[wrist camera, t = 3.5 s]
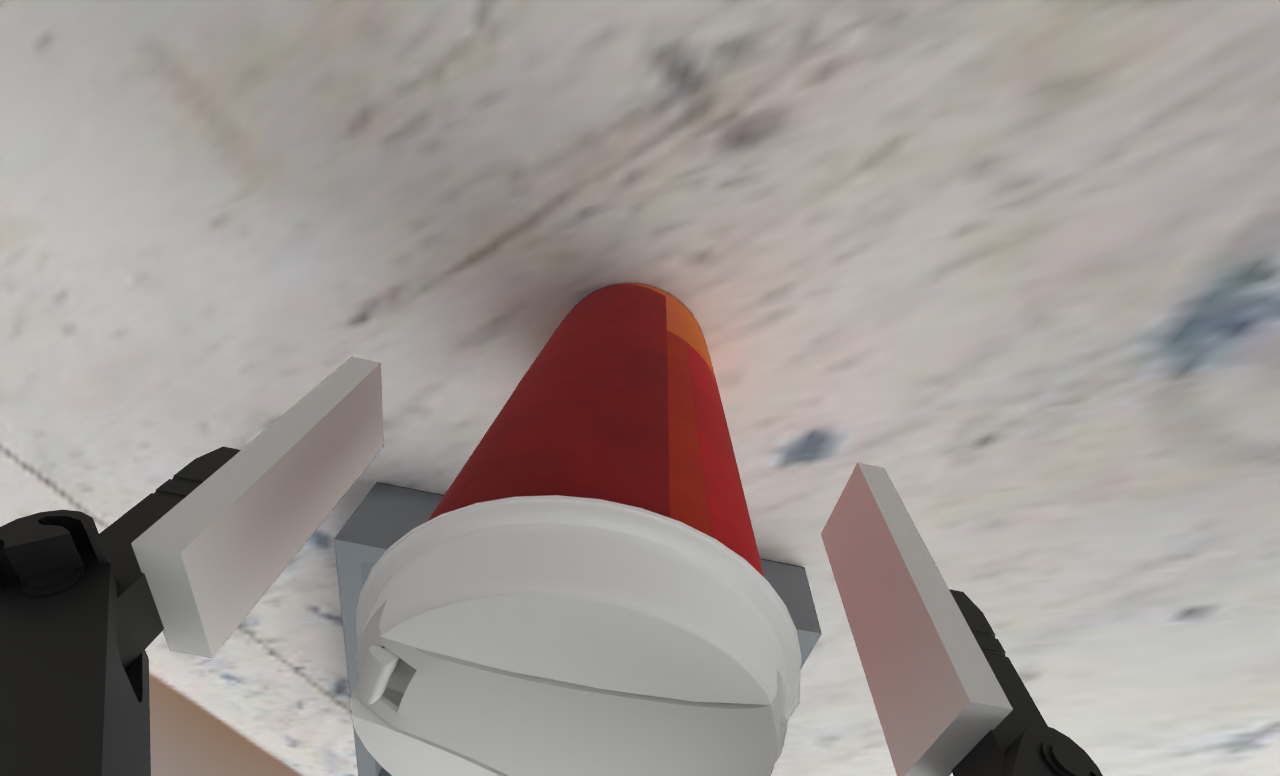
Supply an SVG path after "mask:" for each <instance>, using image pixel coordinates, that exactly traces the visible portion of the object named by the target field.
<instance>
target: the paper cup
mask: <svg viewBox="0 0 1280 776" xmlns="http://www.w3.org/2000/svg"><path fill="white" fill-rule="evenodd" d="M356 634H357V647H358V652H357V656H356V659H357V674H358V678H357V681H356V684H355V686H354V690H353V693H352V695H351V698H350V703H349V708H350V711H351V714H350V717H351V720H352V723H353V726H354V728H355V731H356V733H357V735H358V736H359V738H360V740H361V741H362V743H363V744H364V746H365V748H366V749H367V751H368V752H369V753H370V754H371V755H372V756H373V757H374V759H375V760H376V761H377V762H378V763H379V764H380V765H381V766H382V767H383V768H384V769H385V770H386V771H387V772H388V773H390V774H391V775H392V776H770V775H771V773H772V771H773V768H774V764H775V763H776V761H777V760H778V758H779V756H780V754H781V751H782V748H783V745H784V740H785V735H786V730H787V721H788V720H789V718H790V716H791V715H792V713H793V712H794V710H795V709H796V707H797V706H798V704H799V702H800V670H801V651H800V646H799V640H798V635H797V630H796V627H795V625H794V623H793V621H792V618H791V616H790V614H789V612H788V609H787V607H786V605H785V604H784V602H783V601H782V600H781V598H780V597H779V596H778V594H777V593H776V591H775V590H774V589H773V587H772V586H771V584H770V583H769V582H768V581H767V580H766V579H765V578H764V574H763V570H762V566H761V562H760V558H759V554H758V550H757V546H756V542H755V537H754V533H753V529H752V525H751V521H750V517H749V513H748V509H747V505H746V500H745V496H744V492H743V488H742V484H741V480H740V476H739V472H738V467H737V463H736V459H735V455H734V451H733V447H732V443H731V439H730V435H729V430H728V426H727V422H726V418H725V414H724V410H723V406H722V402H721V398H720V394H719V390H718V386H717V382H716V379H715V375H714V371H713V367H712V363H711V359H710V355H709V352H708V349H707V345H706V342H705V339H704V336H703V334H702V331H701V329H700V326H699V324H698V322H697V321H696V319H695V318H694V316H693V315H692V313H691V312H690V311H689V310H688V308H687V307H686V306H685V305H684V304H683V303H681V302H680V301H679V300H678V299H677V298H675V297H674V296H672V295H671V294H669V293H667V292H665V291H663V290H661V289H658V288H656V287H652V286H649V285H644V284H637V283H622V284H615V285H610V286H607V287H604V288H601V289H599V290H597V291H595V292H593V293H591V294H589V295H588V296H586V297H585V298H584V299H582V300H581V301H580V302H579V303H578V304H577V305H576V306H575V307H574V308H573V309H572V310H571V311H570V312H569V313H568V315H567V316H566V317H565V319H564V320H563V321H562V323H561V324H560V325H559V327H558V328H557V329H556V331H555V332H554V334H553V335H552V337H551V338H550V339H549V341H548V342H547V344H546V345H545V347H544V348H543V350H542V351H541V352H540V354H539V355H538V357H537V358H536V360H535V361H534V363H533V364H532V366H531V367H530V368H529V370H528V371H527V373H526V374H525V375H524V377H523V378H522V380H521V381H520V383H519V384H518V386H517V387H516V389H515V391H514V392H513V394H512V395H511V397H510V398H509V400H508V401H507V403H506V404H505V406H504V407H503V409H502V410H501V412H500V413H499V415H498V416H497V418H496V419H495V421H494V422H493V424H492V425H491V427H490V428H489V430H488V431H487V433H486V434H485V436H484V437H483V439H482V440H481V442H480V443H479V445H478V446H477V448H476V449H475V451H474V452H473V454H472V455H471V457H470V458H469V460H468V461H467V463H466V464H465V466H464V467H463V469H462V470H461V472H460V473H459V475H458V476H457V478H456V479H455V480H454V482H453V483H452V485H451V486H450V488H449V489H448V491H447V492H446V494H445V495H444V497H443V498H442V500H441V501H440V503H439V504H438V506H437V507H436V509H435V510H434V512H433V513H432V515H431V516H430V518H429V519H428V521H427V522H426V523H424V524H422V525H420V526H418V527H416V528H414V529H412V530H411V531H410V532H408V533H407V534H406V535H404V536H403V537H402V538H401V539H399V540H398V541H397V542H395V543H394V544H393V545H391V546H390V547H389V548H388V550H387V551H386V552H385V553H384V554H383V555H382V557H381V558H380V559H379V560H378V561H377V563H376V564H375V565H374V566H373V568H372V569H371V571H370V573H369V575H368V577H367V579H366V581H365V583H364V585H363V587H362V589H361V591H360V596H359V601H358V606H357V612H356Z"/></svg>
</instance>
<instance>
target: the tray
mask: <svg viewBox="0 0 1280 776" xmlns="http://www.w3.org/2000/svg"><path fill="white" fill-rule="evenodd" d="M443 497H444V496H442V495H437V494H432V493H427V492H422V491H417V490H412V489H407V488H402V487H397V486H392V485H387V484H382V483H376V484H375V486H374V487H373V488H372V490H371V491H370V492H369V494H368V495H367V496H366V498H365V499H364V500H363V502H362V503H361V504H360V506H359V507H358V508H357V510H356V511H355V512H354V514H353V515H352V516H351V518H350V519H349V520H348V522H347V523H346V524H345V526H344V527H343V528H342V530H341V531H340V532H339V533H338V535H337V536H336V537H335V539H334V542H335V552H336V562H337V571H338V581H339V591H340V601H341V611H342V620H343V630H344V640H345V650H346V659H347V669H348V679H349V689H350V698H351V695H352V693H353V690H354V686H355V684H356V681H357V678H358V674H357V659H356V656H357V652H358V647H357V634H356V612H357V606H358V601H359V596H360V591H361V589H362V587H363V585H364V583H365V581H366V579H367V577H368V575H369V573H370V571H371V569H372V568H373V566H374V565H375V564H376V563H377V561H378V560H379V559H380V558H381V557H382V555H383V554H384V553H385V552H386V551H387V550H388V548H389V547H390V546H391V545H393V544H394V543H395V542H397V541H398V540H399V539H401V538H402V537H403V536H404V535H406V534H407V533H408V532H410V531H411V530H412V529H414V528H416V527H418V526H420V525H422V524H424V523H426V522H427V521H428V519H429V518H430V516H431V515H432V513H433V512H434V510H435V509H436V507H437V506H438V504H439V503H440V501H441V500H442V498H443ZM760 562H761V566H762V570H763V574H764V578H765V579H766V580H767V581H768V582H769V583H770V584H771V586H772V587H773V589H774V590H775V591H776V593H777V594H778V596H779V597H780V598H781V600H782V601H783V602H784V604H785V605H786V607H787V609H788V612H789V614H790V616H791V618H792V621H793V623H794V625H795V627H796V630H797V635H798V640H799V646H800V651H801V668H802V666H803V664H804V663H805V661H806V659H807V658H808V656H809V654H810V653H811V651H812V649H813V647H814V646H815V644H816V642H817V641H818V639H819V637H820V636H821V630H820V626H819V622H818V618H817V614H816V611H815V607H814V603H813V599H812V595H811V591H810V587H809V583H808V579H807V576H806V572H805V568H803V567H798V566H793V565H788V564H783V563H778V562H773V561H768V560H763V559H760ZM353 728H354V726H353ZM354 738H355V747H356V757H357V767H358V776H392V775H391V774H390V773H388V772H387V771H386V770H385V769H384V768H383V767H382V766H381V765H380V764H379V763H378V762H377V761H376V760H375V759H374V757H373V756H372V755H371V754H370V753H369V752H368V751H367V749H366V748H365V746H364V744H363V743H362V741H361V740H360V738H359V736H358V735H357V733H356V731H355V728H354Z"/></svg>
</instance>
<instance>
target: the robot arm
mask: <svg viewBox="0 0 1280 776" xmlns="http://www.w3.org/2000/svg"><path fill="white" fill-rule="evenodd" d="M383 446H384V443H383V415H382V386H381V363H378V362H373V361H368V360H364V359H359V358H354V357H351V358H350V359H349V360H347V361H346V362H345V363H344V364H343V365H341V366H340V367H339V368H338V369H337V370H336V371H334V372H333V373H332V374H331V375H330V376H328V377H327V378H326V379H325V380H324V381H323V382H321V383H320V384H319V385H318V386H317V387H315V388H314V389H313V390H312V391H311V392H309V393H308V394H307V395H306V396H305V397H304V398H302V399H301V400H300V401H299V402H298V403H296V404H295V405H294V406H293V407H292V408H291V409H289V410H288V411H287V412H286V413H285V414H283V415H282V416H281V417H280V418H279V419H278V420H276V421H275V422H274V423H273V424H272V425H270V426H269V427H268V428H267V429H266V430H265V431H263V432H262V433H261V434H260V435H259V436H257V437H256V438H255V439H254V440H253V441H251V442H250V443H249V444H248V445H247V446H246V447H244V448H243V449H242V450H238V449H233V448H228V447H221V448H219V449H217V450H214V451H212V452H210V453H208V454H205V455H203V456H201V457H199V458H196V459H195V460H193V461H192V462H191V463H189V464H188V465H187V466H186V467H184V468H183V469H182V470H180V471H179V472H178V473H177V474H175V475H174V477H173V479H172V480H171V479H169V480H168V481H166V482H165V483H164V484H163V485H161V486H160V487H159V488H157V489H156V492H155V493H154V494H153V493H151V494H150V495H149V496H147V497H146V498H145V499H143V500H142V501H141V502H140V503H138V504H137V505H136V506H134V507H133V508H132V509H131V510H129V511H128V512H127V513H126V514H124V515H123V516H122V517H120V518H119V519H118V520H117V521H115V522H114V523H113V524H111V525H110V526H109V527H108V528H106V529H105V530H104V531H102V532H101V533H100V534H99V533H98V531H97V528H96V526H95V523H94V521H93V518H92V517H90V516H88V515H86V514H84V513H82V512H79V511H69V510H57V511H48V512H40V513H37V514H33V515H30V516H26V517H23V518H19V519H16V520H14V521H12V522H10V523H8V524H6V525H4V526H1V527H0V776H151V767H150V766H151V765H150V708H149V659H148V656H147V654H146V651H145V649H146V648H147V647H148V645H149V644H150V643H151V642H152V641H153V640H154V639H155V638H156V637H157V636H158V635H159V634H160V633H161V632H162V631H163V633H164V636H165V638H166V641H167V644H168V647H169V650H170V651H176V652H181V653H187V654H192V655H198V656H203V657H209V658H213V657H214V656H215V655H216V653H217V652H218V651H219V650H220V648H221V647H222V646H223V645H224V643H225V642H226V641H227V640H228V638H229V637H230V636H231V635H232V634H233V632H234V631H235V630H236V629H237V627H238V626H239V625H240V624H241V622H242V621H243V620H244V619H245V617H246V616H247V615H248V614H249V612H250V611H251V610H252V609H253V607H254V606H255V605H256V604H257V603H258V601H259V600H260V599H261V598H262V596H263V595H264V594H265V593H266V591H267V590H268V589H269V588H270V586H271V585H272V584H273V583H274V581H275V580H276V579H277V578H278V576H279V575H280V574H281V573H282V572H283V570H284V569H285V568H286V567H287V565H288V564H289V563H290V562H291V560H292V559H293V558H294V557H295V555H296V554H297V553H298V552H299V550H300V549H301V548H302V547H303V545H304V544H305V543H306V542H307V541H308V539H309V538H310V537H311V536H312V534H313V533H314V532H315V531H316V529H317V528H318V527H319V526H320V524H321V523H322V522H323V521H324V519H325V518H326V517H327V516H328V515H329V513H330V512H331V511H332V510H333V508H334V507H335V506H336V505H337V503H338V502H339V501H340V500H341V498H342V497H343V496H344V495H345V493H346V492H347V491H348V490H349V488H350V487H351V486H352V485H353V484H354V482H355V481H356V480H357V479H358V477H359V476H360V475H361V474H362V472H363V471H364V470H365V469H366V467H367V466H368V465H369V464H370V462H371V461H372V460H373V459H374V457H375V456H376V455H377V454H378V453H379V451H380V450H381V449H382V448H383ZM821 536H822V539H823V542H824V545H825V548H826V552H827V555H828V558H829V561H830V564H831V567H832V571H833V574H834V577H835V580H836V583H837V586H838V590H839V593H840V596H841V599H842V602H843V605H844V609H845V612H846V615H847V618H848V621H849V624H850V628H851V631H852V634H853V637H854V640H855V643H856V647H857V650H858V653H859V656H860V659H861V662H862V666H863V669H864V672H865V675H866V678H867V681H868V685H869V688H870V691H871V694H872V697H873V700H874V704H875V707H876V710H877V713H878V716H879V719H880V723H881V726H882V729H883V732H884V735H885V738H886V742H887V745H888V748H889V751H890V754H891V757H892V761H893V764H894V767H895V770H896V773H897V776H949V775H950V774H951V773H953V775H954V776H1103V775H1102V774H1101V772H1100V770H1099V768H1098V767H1097V765H1096V764H1095V763H1094V762H1093V760H1092V759H1091V758H1090V757H1089V756H1088V754H1087V753H1086V752H1085V751H1084V750H1083V749H1082V748H1081V747H1079V746H1078V745H1077V744H1076V743H1075V742H1074V741H1073V740H1071V739H1070V738H1069V737H1067V736H1066V735H1064V734H1062V733H1060V732H1059V731H1057V730H1055V729H1054V728H1050V727H1048V726H1047V724H1046V722H1045V721H1044V719H1043V717H1042V715H1041V714H1040V712H1039V710H1038V708H1037V707H1036V705H1035V703H1034V701H1033V700H1032V698H1031V696H1030V695H1029V693H1028V691H1027V689H1026V688H1025V686H1024V684H1023V682H1022V681H1021V679H1020V677H1019V675H1018V674H1017V672H1016V670H1015V668H1014V667H1013V665H1012V663H1011V661H1010V660H1009V658H1008V657H1006V656H1005V651H1004V649H1003V647H1002V646H1001V644H1000V642H999V640H998V639H995V633H994V632H993V630H992V628H991V626H990V625H989V623H988V621H987V619H986V618H985V616H984V614H983V613H982V612H981V611H980V609H979V608H978V607H977V606H976V605H975V604H974V603H973V602H972V601H971V600H970V599H969V598H968V597H967V596H966V595H965V593H964V592H960V591H955V590H950V589H949V588H948V587H947V585H946V583H945V581H944V579H943V577H942V575H941V573H940V572H939V570H938V568H937V566H936V564H935V562H934V560H933V558H932V557H931V555H930V553H929V551H928V549H927V547H926V545H925V543H924V542H923V540H922V538H921V536H920V534H919V532H918V530H917V528H916V527H915V525H914V523H913V521H912V519H911V517H910V515H909V513H908V512H907V510H906V508H905V506H904V504H903V502H902V500H901V498H900V497H899V495H898V493H897V491H896V489H895V487H894V485H893V483H892V482H891V480H890V478H889V476H888V474H887V472H886V470H885V468H881V467H876V466H872V465H867V464H862V463H857V465H856V467H855V469H854V471H853V473H852V475H851V477H850V479H849V481H848V483H847V485H846V486H845V488H844V490H843V492H842V494H841V496H840V498H839V500H838V502H837V504H836V506H835V508H834V510H833V512H832V514H831V516H830V518H829V520H828V522H827V524H826V525H825V527H824V529H823V531H822V533H821Z"/></svg>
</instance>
